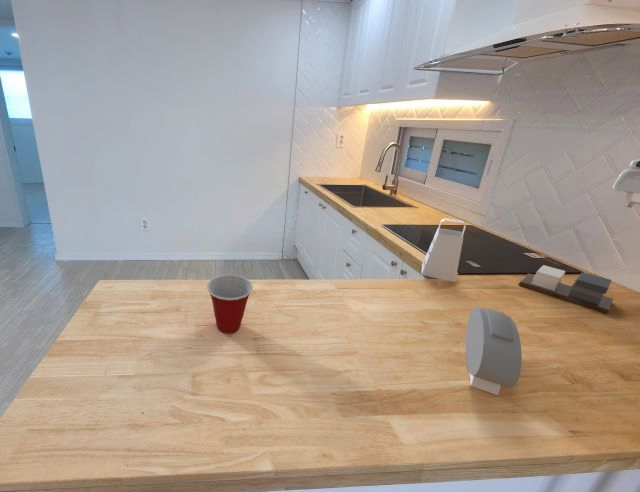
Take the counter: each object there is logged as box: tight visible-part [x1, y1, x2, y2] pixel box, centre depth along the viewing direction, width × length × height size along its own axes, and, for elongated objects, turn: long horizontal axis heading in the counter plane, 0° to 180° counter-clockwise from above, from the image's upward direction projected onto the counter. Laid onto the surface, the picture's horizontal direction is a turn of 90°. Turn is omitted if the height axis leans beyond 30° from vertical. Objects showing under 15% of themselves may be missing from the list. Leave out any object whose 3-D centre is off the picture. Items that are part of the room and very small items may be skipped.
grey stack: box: [568, 271, 612, 305], centre depth 107 cm, size 7×10×6 cm
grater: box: [421, 217, 467, 283], centre depth 118 cm, size 10×10×20 cm
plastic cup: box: [206, 274, 254, 334], centre depth 81 cm, size 11×11×12 cm
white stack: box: [532, 276, 562, 291], centre depth 115 cm, size 6×10×3 cm, turn 130°
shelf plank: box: [518, 273, 614, 314], centre depth 112 cm, size 22×12×2 cm, turn 40°
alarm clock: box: [464, 306, 523, 396], centre depth 73 cm, size 23×6×13 cm, turn 151°
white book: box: [534, 264, 566, 282], centre depth 114 cm, size 6×10×2 cm, turn 130°
